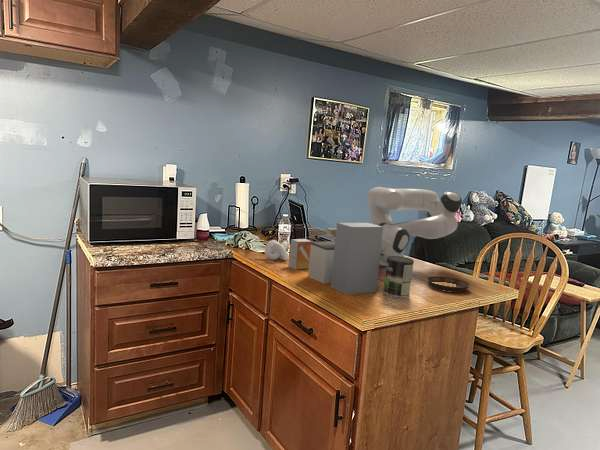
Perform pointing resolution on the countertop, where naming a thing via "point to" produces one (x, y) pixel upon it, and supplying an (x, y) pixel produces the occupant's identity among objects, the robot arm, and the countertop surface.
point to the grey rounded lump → (276, 250)
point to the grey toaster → (321, 261)
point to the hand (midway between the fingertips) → (357, 230)
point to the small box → (299, 253)
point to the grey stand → (356, 257)
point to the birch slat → (331, 232)
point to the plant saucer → (459, 283)
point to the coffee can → (398, 276)
